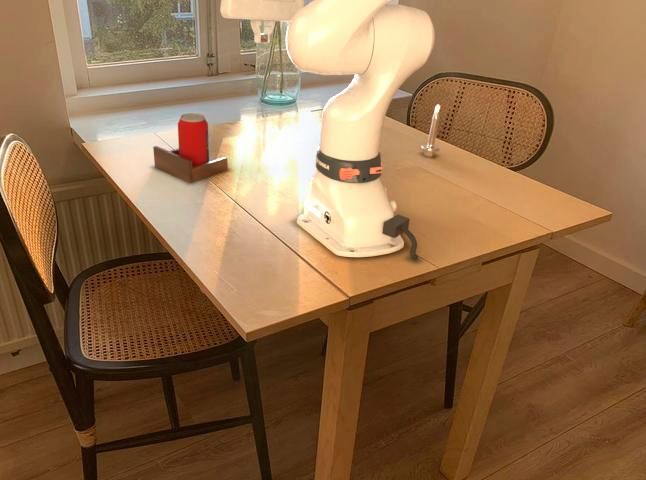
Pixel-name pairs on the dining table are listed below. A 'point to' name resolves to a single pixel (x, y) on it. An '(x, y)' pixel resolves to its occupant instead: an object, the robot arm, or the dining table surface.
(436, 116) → the screw
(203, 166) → the bay
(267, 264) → the dining table surface
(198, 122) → the beverage can
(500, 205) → the dining table surface
